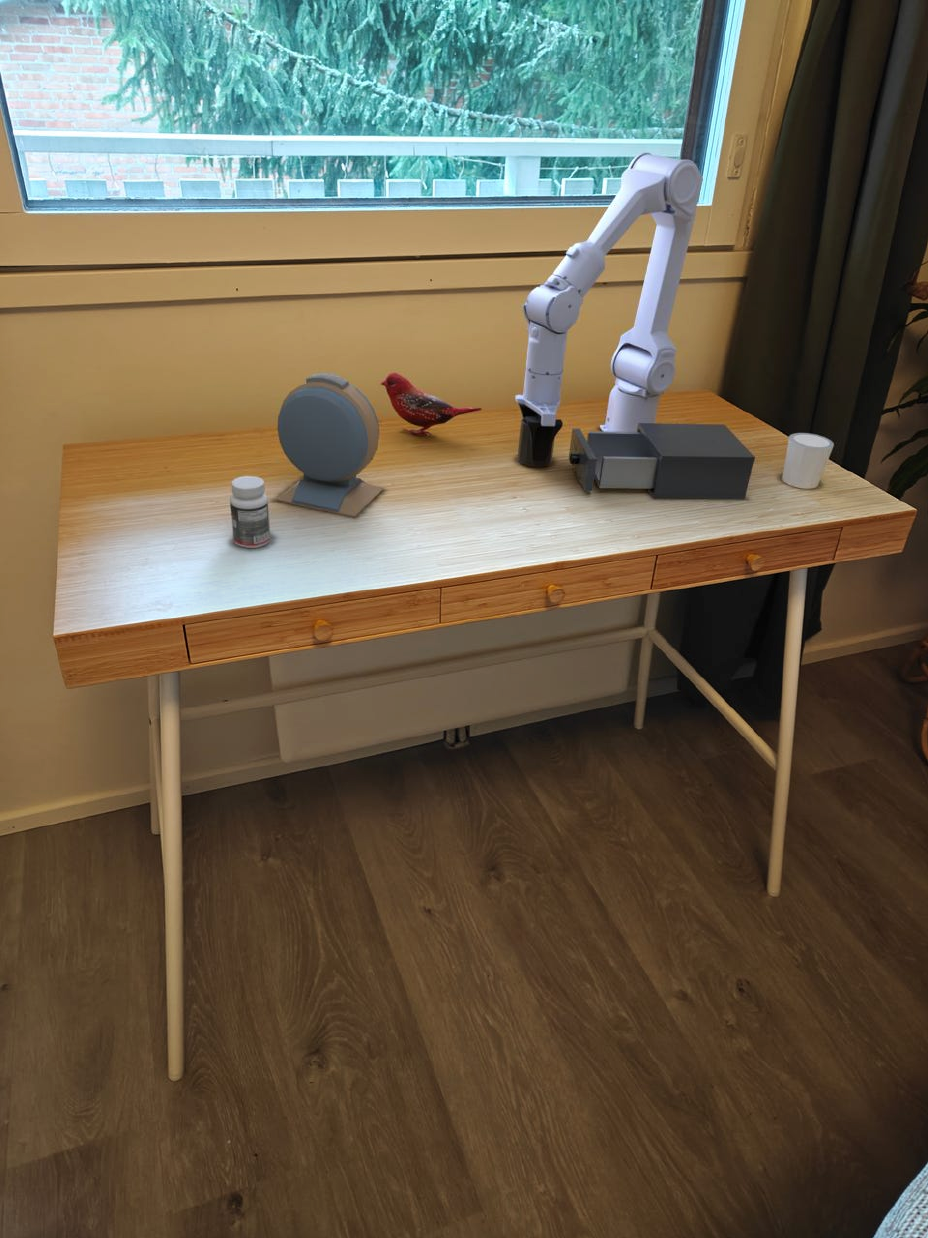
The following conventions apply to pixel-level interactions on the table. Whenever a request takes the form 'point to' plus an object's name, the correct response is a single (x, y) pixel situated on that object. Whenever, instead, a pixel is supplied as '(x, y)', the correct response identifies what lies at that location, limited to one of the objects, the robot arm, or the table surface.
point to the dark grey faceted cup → (525, 447)
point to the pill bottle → (249, 512)
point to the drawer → (613, 459)
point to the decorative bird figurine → (419, 404)
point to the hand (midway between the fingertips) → (535, 452)
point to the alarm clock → (329, 444)
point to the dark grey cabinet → (698, 461)
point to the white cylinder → (806, 459)
